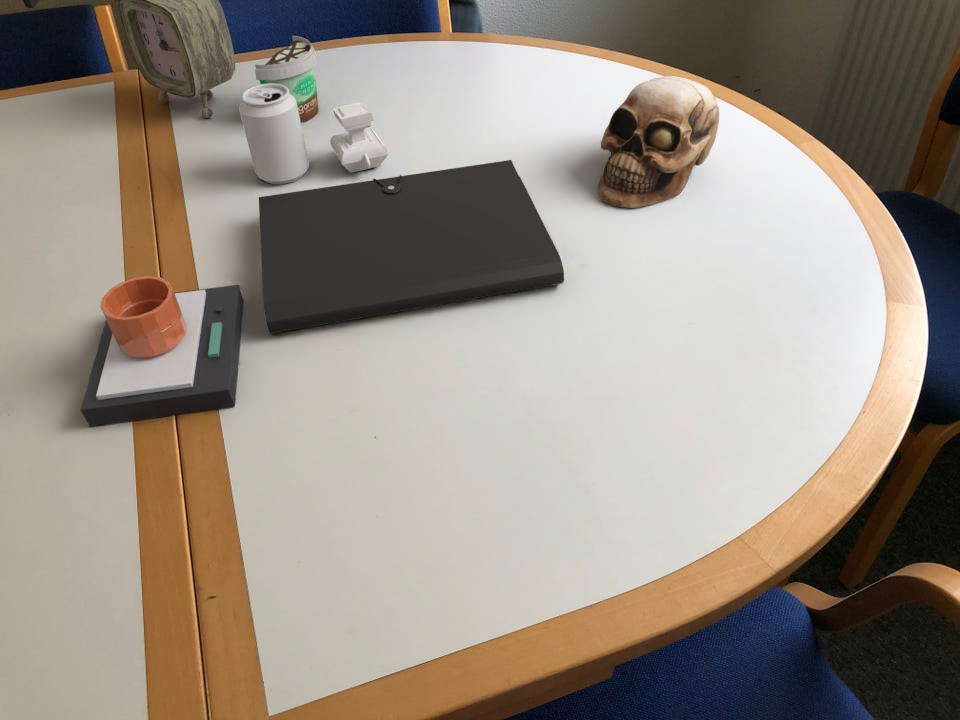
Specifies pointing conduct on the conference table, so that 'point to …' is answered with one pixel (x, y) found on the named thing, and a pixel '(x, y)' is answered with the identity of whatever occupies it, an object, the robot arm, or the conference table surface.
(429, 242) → the file folder
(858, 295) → the conference table surface
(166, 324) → the terracotta plant pot
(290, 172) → the can
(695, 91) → the beige skull model
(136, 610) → the conference table surface
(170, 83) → the tabletop clock
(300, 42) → the food container
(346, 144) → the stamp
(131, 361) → the scale
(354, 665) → the conference table surface
